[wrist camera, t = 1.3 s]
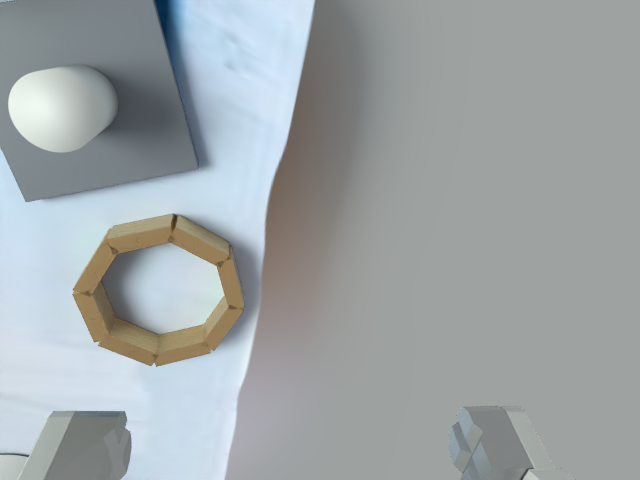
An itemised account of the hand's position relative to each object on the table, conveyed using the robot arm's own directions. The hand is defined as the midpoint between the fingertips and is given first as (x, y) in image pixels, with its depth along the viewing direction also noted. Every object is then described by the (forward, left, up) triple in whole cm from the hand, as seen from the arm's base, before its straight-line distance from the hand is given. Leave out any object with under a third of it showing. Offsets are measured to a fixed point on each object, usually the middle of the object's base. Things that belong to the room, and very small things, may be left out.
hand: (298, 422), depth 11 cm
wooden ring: (-12, +10, -32) cm, 36 cm away
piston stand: (+6, +11, -32) cm, 34 cm away
